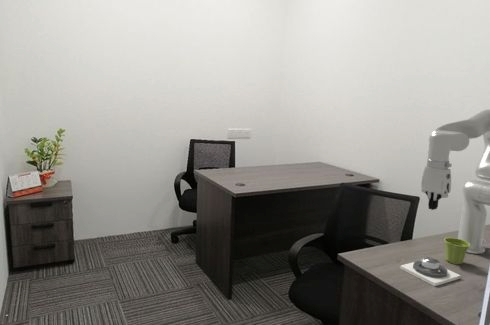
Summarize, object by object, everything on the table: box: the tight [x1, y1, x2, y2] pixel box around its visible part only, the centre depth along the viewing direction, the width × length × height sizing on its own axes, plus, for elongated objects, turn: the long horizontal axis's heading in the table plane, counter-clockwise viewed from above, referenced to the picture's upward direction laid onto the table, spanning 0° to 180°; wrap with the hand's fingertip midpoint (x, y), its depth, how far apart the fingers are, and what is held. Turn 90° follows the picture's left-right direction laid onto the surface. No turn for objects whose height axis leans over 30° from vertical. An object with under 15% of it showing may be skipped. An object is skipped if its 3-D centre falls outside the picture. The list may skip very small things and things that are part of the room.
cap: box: [421, 256, 441, 272], centre depth 141 cm, size 6×6×4 cm
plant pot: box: [443, 237, 470, 265], centre depth 152 cm, size 9×9×9 cm
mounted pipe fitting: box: [399, 259, 462, 287], centre depth 141 cm, size 15×15×2 cm
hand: (432, 208), depth 147 cm, fingers closed
